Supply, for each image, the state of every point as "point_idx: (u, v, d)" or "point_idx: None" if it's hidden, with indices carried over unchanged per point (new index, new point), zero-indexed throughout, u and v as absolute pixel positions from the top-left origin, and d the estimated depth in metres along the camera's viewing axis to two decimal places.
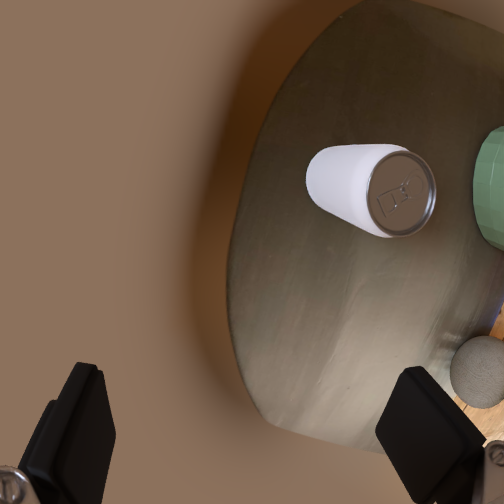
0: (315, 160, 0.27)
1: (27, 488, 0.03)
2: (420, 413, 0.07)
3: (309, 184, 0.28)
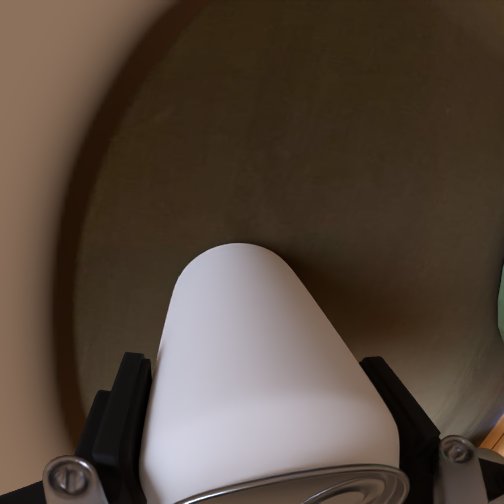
0: (176, 285, 0.14)
1: (93, 475, 0.04)
2: None
3: None
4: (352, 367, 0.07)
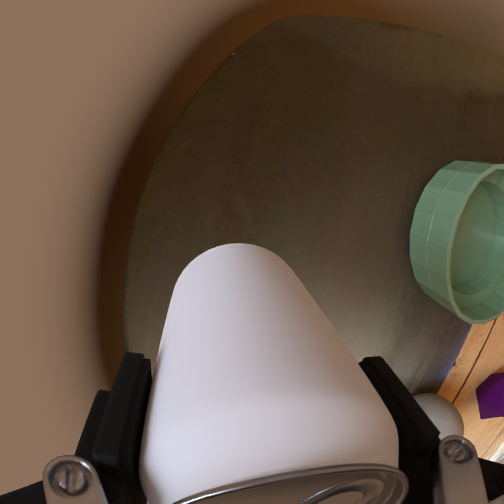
0: (176, 286, 0.14)
1: (93, 475, 0.04)
2: None
3: None
4: (351, 367, 0.07)
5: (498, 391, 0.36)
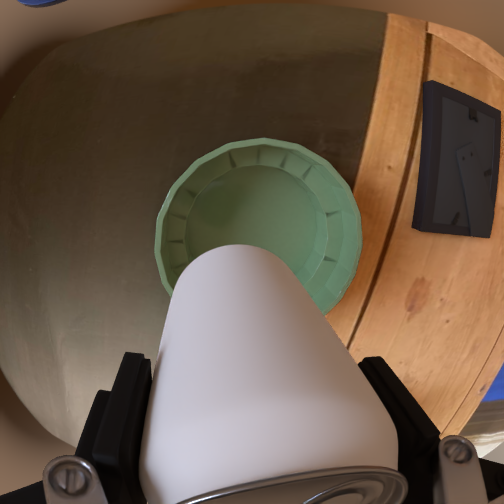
0: (176, 287, 0.14)
1: (93, 475, 0.04)
2: None
3: None
4: (351, 369, 0.07)
5: None
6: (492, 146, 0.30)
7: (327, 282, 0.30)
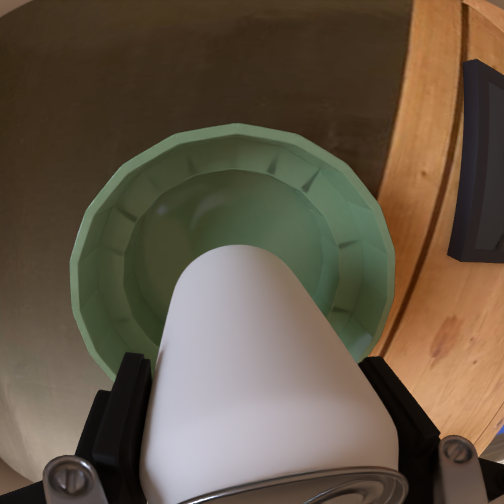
0: (176, 287, 0.14)
1: (93, 475, 0.04)
2: None
3: None
4: (351, 369, 0.07)
5: None
6: None
7: None
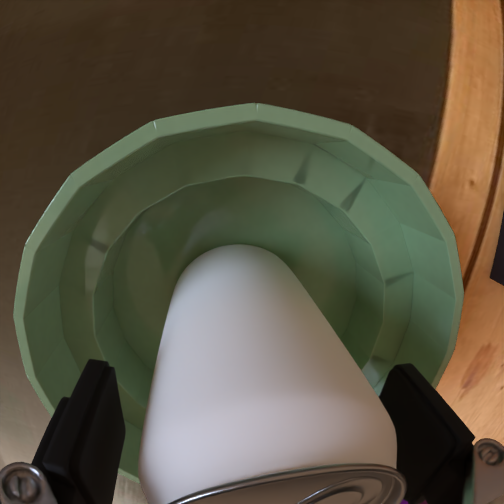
0: (176, 286, 0.14)
1: (43, 484, 0.04)
2: (409, 410, 0.08)
3: None
4: (350, 368, 0.07)
5: None
6: None
7: None
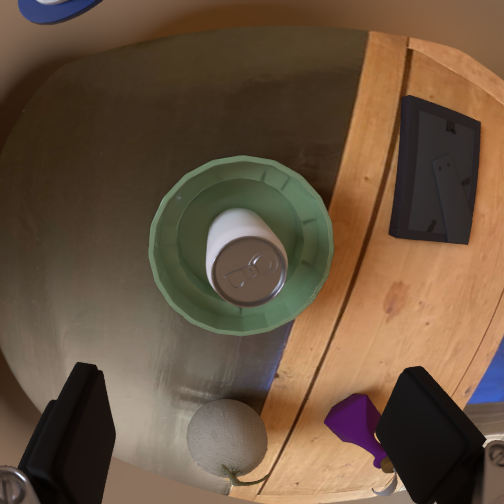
0: (212, 224, 0.32)
1: (27, 488, 0.03)
2: (420, 413, 0.07)
3: None
4: (269, 230, 0.25)
5: (349, 416, 0.40)
6: (470, 156, 0.34)
7: (304, 284, 0.34)
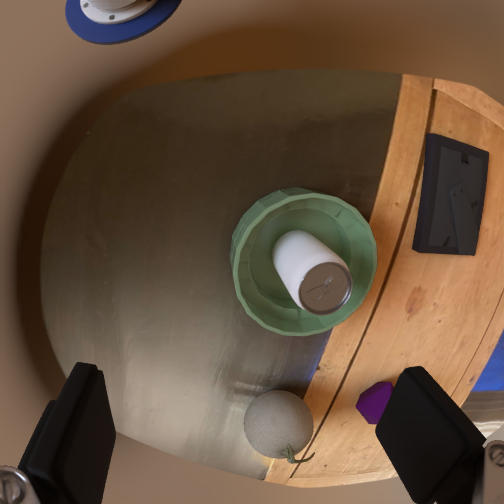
0: (277, 244, 0.39)
1: (27, 488, 0.03)
2: (420, 413, 0.07)
3: (273, 261, 0.40)
4: (336, 254, 0.32)
5: (377, 400, 0.47)
6: (479, 182, 0.41)
7: None
